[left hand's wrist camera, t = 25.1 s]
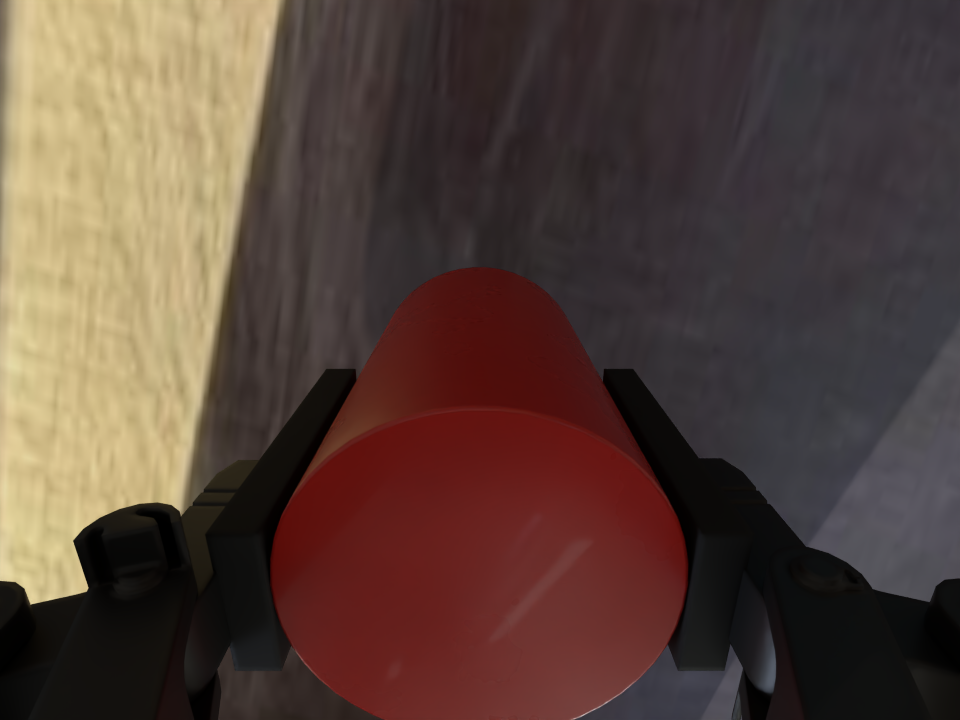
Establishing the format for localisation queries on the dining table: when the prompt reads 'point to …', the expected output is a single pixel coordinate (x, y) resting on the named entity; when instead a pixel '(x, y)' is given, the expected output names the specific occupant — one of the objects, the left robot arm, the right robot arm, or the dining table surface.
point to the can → (479, 521)
